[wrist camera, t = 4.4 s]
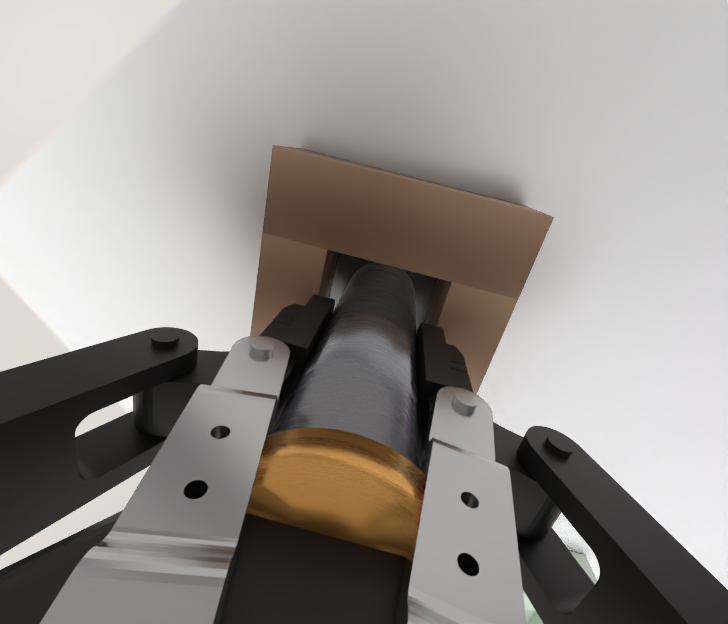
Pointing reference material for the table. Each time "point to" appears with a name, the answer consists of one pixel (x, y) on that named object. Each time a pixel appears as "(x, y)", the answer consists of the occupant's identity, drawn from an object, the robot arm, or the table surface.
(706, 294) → the table surface
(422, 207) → the block
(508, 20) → the table surface
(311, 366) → the pin
